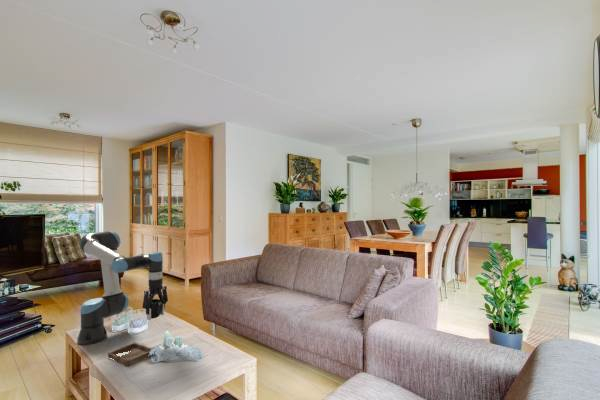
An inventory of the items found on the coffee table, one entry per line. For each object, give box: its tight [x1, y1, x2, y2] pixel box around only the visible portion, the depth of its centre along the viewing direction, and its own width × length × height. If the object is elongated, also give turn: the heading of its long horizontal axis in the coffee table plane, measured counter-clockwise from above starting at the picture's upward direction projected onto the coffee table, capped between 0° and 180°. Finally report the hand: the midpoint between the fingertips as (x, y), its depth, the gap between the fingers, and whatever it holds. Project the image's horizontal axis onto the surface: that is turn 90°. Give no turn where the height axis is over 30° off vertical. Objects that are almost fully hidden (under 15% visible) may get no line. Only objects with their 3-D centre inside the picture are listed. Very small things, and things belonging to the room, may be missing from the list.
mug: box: [150, 298, 163, 320], centre depth 185 cm, size 8×12×10 cm
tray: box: [107, 341, 153, 367], centre depth 169 cm, size 18×15×2 cm
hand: (155, 317), depth 185 cm, fingers closed on mug, 8 cm apart
